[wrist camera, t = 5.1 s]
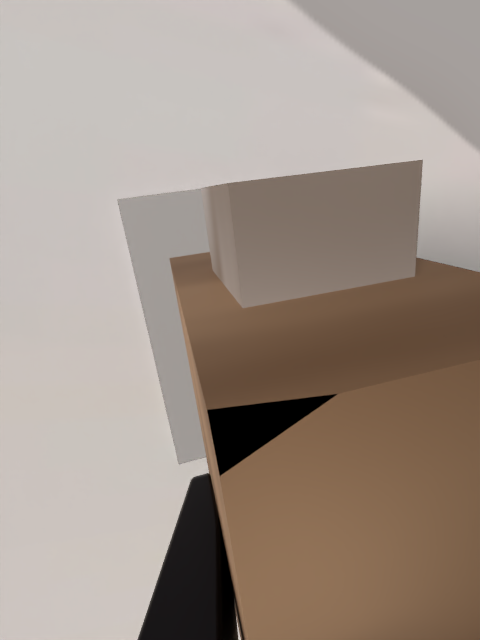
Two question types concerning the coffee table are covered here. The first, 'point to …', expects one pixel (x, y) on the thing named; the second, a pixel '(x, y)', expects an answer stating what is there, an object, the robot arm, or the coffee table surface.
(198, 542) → the robot arm
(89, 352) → the coffee table surface
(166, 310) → the pad
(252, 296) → the brown rectangular block
